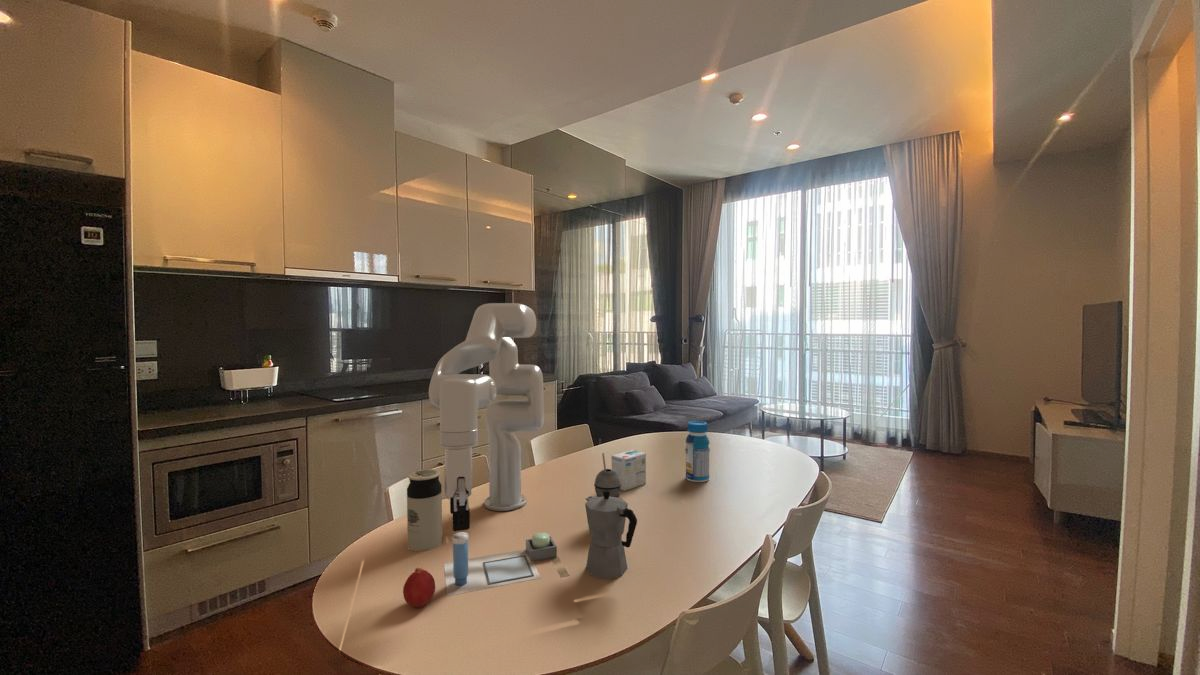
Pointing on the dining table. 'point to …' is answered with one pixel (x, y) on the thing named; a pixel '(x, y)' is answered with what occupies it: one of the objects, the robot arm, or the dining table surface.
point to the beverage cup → (607, 482)
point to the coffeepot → (608, 535)
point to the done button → (540, 540)
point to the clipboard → (497, 571)
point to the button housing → (541, 551)
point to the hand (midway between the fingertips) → (459, 520)
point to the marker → (460, 558)
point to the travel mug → (424, 510)
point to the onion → (419, 588)
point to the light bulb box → (630, 468)
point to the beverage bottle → (697, 452)
